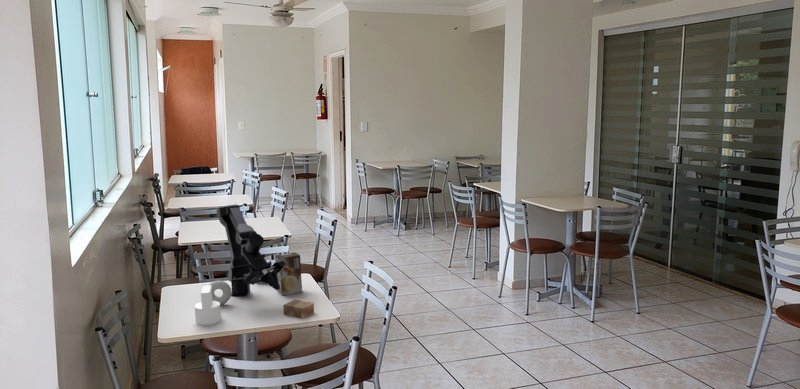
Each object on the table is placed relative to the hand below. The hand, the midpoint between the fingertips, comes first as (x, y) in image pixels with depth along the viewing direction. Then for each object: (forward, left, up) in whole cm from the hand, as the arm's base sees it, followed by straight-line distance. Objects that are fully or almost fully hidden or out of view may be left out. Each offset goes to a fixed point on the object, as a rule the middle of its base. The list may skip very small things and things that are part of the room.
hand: (278, 289), depth 237 cm
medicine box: (-16, +37, -8) cm, 41 cm away
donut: (-25, +5, -8) cm, 27 cm away
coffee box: (-1, +22, -8) cm, 23 cm away
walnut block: (+5, -2, -6) cm, 8 cm away
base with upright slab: (-23, -12, -8) cm, 28 cm away
